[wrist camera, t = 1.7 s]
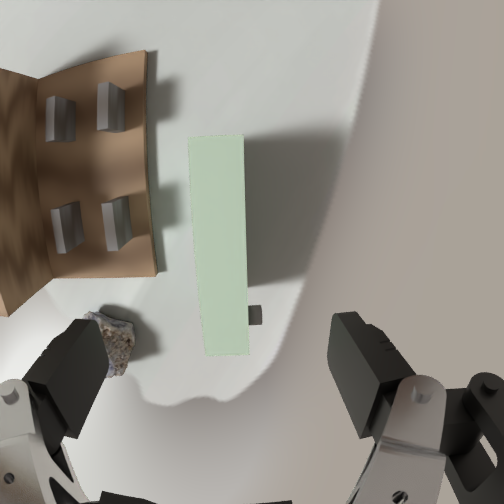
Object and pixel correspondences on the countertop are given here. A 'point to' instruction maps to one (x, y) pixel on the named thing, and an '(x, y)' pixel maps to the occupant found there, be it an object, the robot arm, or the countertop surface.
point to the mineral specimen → (115, 341)
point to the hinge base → (74, 177)
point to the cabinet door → (221, 243)
